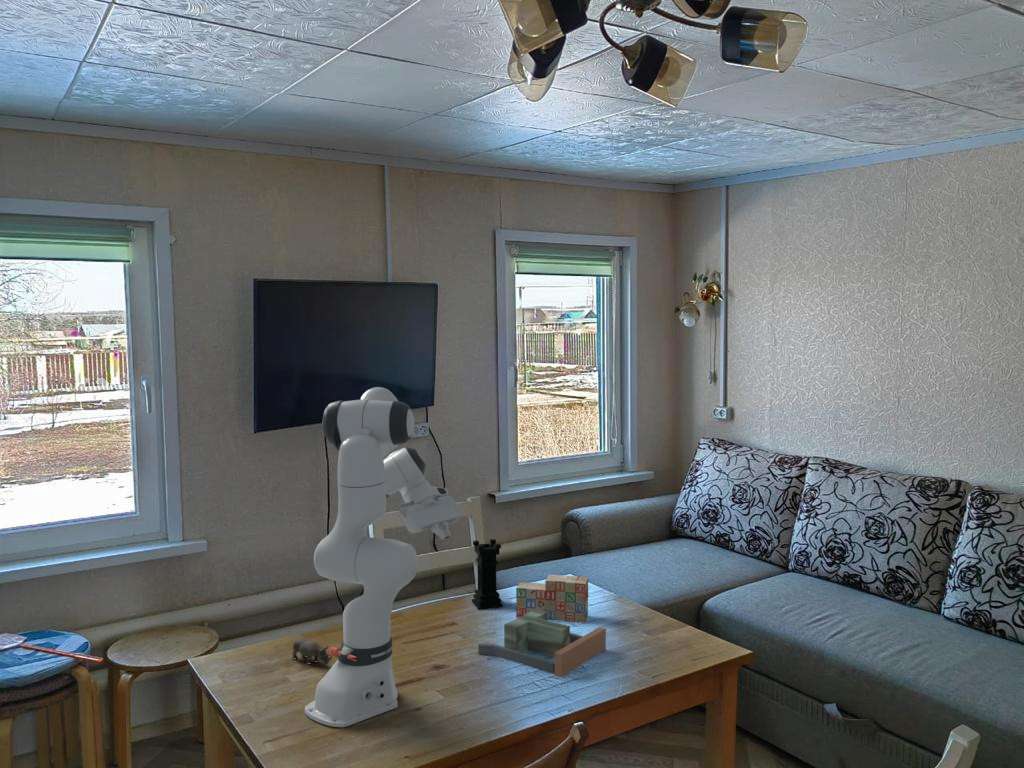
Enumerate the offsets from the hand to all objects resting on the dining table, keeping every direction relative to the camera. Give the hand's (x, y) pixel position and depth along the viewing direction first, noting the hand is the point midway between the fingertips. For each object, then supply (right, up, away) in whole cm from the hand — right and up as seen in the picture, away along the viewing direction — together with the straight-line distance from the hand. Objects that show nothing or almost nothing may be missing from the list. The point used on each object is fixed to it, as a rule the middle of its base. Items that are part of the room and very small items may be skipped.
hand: (446, 537), depth 235 cm
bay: (+27, -29, -9) cm, 41 cm away
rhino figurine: (-34, -30, -16) cm, 49 cm away
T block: (+27, -29, -9) cm, 41 cm away
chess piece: (+11, -27, +28) cm, 40 cm away
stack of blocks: (+31, -28, +17) cm, 45 cm away
